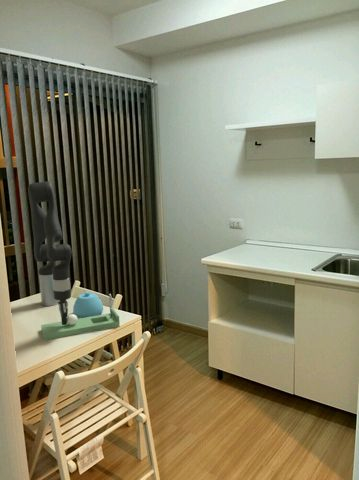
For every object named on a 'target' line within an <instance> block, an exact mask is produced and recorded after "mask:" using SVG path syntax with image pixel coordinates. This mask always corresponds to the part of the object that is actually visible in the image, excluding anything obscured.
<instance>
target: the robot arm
mask: <svg viewBox="0 0 359 480" xmlns="http://www.w3.org/2000/svg"><path fill="white" fill-rule="evenodd" d="M54 190H55V189H54V187H53V185H52V183H51V182H50V181H41V182H33V183H30V184H28V187H27V191H28V192H27V193H28V200H29V205H30V213H31V215H30V216H31V226H32V228H31V229H32V233H33V234H32V235H33V254H34V255H33V256H34V259H35V261H36V262H38V263H39V262H41V263H42V262H44V263H45V262H47V264H45V265H44V266H41V267H39V269H38V277H39V286H40V287H39V289H40V300H41V305H42V306H44V307H50V306H51V307H52V306H55V305H58V311H59V313H60V319H61V321H60V322H62V325H66V324H67V317H68V316H69V315H68V313H69V312H68V310H69V309H68V307H69V303H68V300H69V299H71V297H72V292H71V291H72V290H71V281H70V270H69V269H70V265H71V264H70V262H71V259H72V254H73V251H72V248H71V245H70V244H68V243H61V244H56V243H58V242H60V241H62V240H63V238H64V236H63V235H64V234H63V231H62V228H61V224H60V220H59V216H58V207H57V201H56V196H55V191H54ZM46 202H48V209H47V211H45V210H44V209H42V207H41V206H40V205H39V203H46ZM45 240H46V243H45V244H43V242H44V241H45ZM57 261H61V262H60V263H59V264H57Z"/></svg>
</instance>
